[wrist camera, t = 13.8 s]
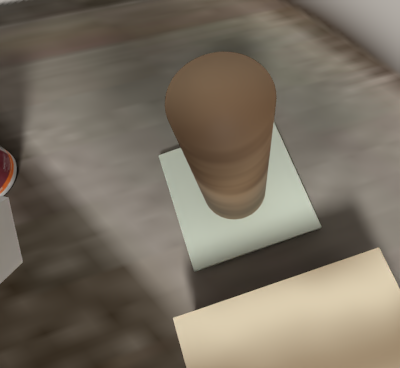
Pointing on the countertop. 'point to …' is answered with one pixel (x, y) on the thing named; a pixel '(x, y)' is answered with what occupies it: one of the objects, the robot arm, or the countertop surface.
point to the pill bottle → (6, 171)
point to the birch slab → (302, 321)
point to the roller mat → (246, 227)
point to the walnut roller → (224, 128)
